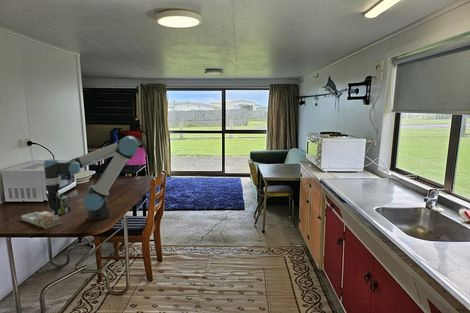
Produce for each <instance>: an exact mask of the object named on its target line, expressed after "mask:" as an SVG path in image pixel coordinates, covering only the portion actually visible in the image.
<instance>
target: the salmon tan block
mask: <svg viewBox="0 0 470 313" xmlns="http://www.w3.org/2000/svg"><path fill="white" fill-rule="evenodd" d="M44 220H47V221H52V220H53V215H52V212H50V213H49V214H46V215H44Z"/></svg>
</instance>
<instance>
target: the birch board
mask: <svg viewBox="0 0 470 313" xmlns="http://www.w3.org/2000/svg"><path fill="white" fill-rule="evenodd" d="M62 221H63V220H62V217H60V216H58V219H57V220H52V221H47V220H44V219H41V218H34V224H33V225H34V226H37V227H40V228H43V229H46V230H47V229H50V228H52V227H55V226H59V225H62V224H63V222H62Z"/></svg>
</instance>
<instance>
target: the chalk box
mask: <svg viewBox="0 0 470 313" xmlns="http://www.w3.org/2000/svg"><path fill="white" fill-rule="evenodd" d="M59 195H61V196H62V197H61V203H60V209H58V215H65V214H67V213H69V212H71V211H72V209H71V206H72V205H71V196H70V195H64V192H61V193H59Z"/></svg>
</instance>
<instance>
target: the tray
mask: <svg viewBox="0 0 470 313" xmlns="http://www.w3.org/2000/svg"><path fill="white" fill-rule="evenodd" d="M38 213H40V212H39V211H34V212H30V213H27V214H23V215H21V221H24V222H26V223H28V222H29V224H31V225H34V218H38Z"/></svg>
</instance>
